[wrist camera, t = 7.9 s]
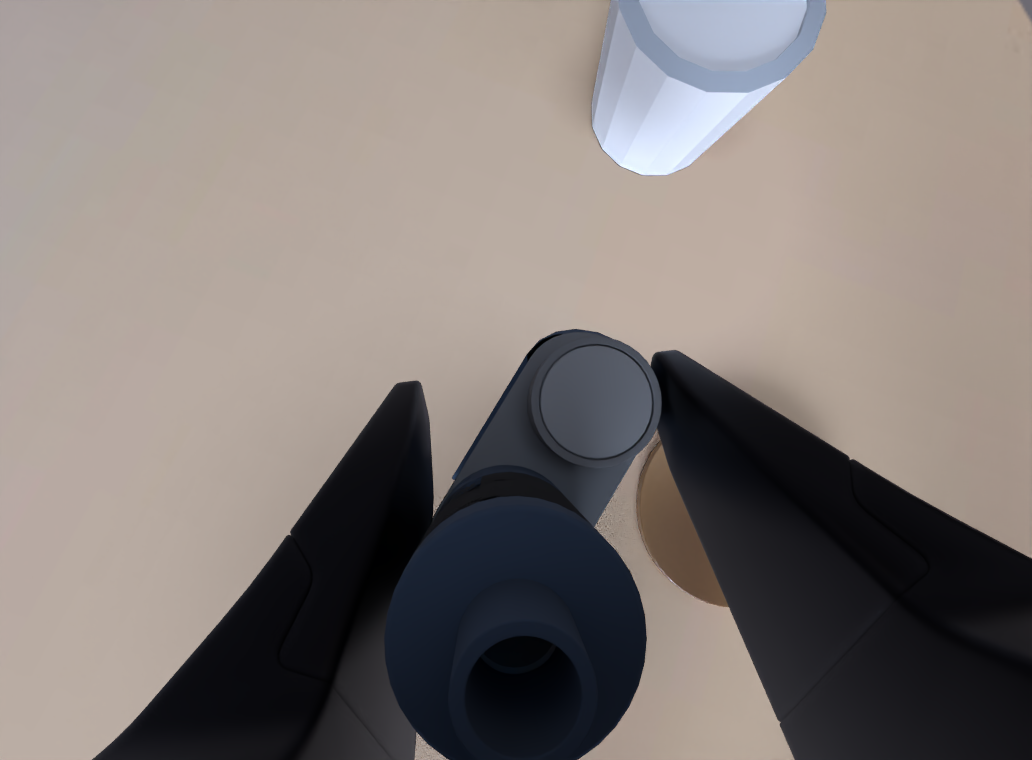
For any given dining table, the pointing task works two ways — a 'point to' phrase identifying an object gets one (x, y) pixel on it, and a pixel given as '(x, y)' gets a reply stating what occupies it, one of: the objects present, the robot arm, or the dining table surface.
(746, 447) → the robot arm
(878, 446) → the dining table surface
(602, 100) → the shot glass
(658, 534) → the round bronze-colored metal disc
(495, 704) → the vaping device
